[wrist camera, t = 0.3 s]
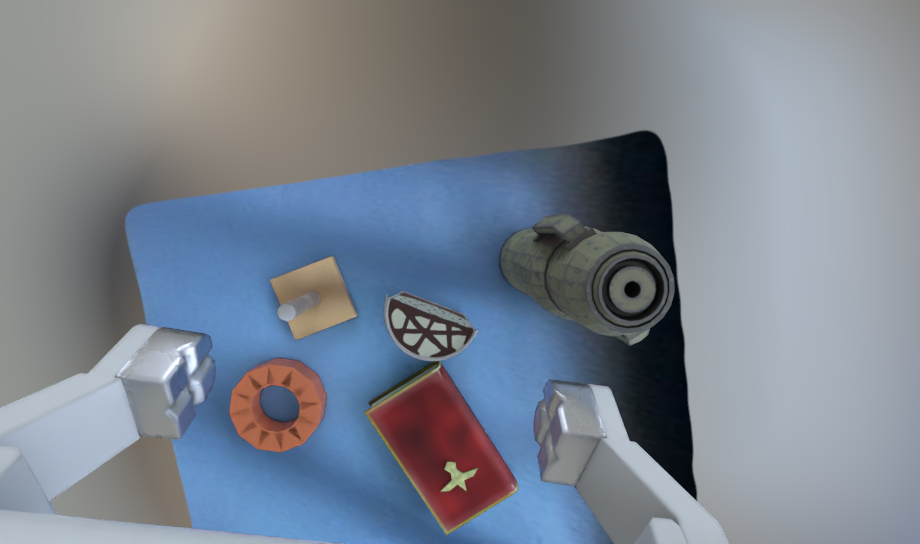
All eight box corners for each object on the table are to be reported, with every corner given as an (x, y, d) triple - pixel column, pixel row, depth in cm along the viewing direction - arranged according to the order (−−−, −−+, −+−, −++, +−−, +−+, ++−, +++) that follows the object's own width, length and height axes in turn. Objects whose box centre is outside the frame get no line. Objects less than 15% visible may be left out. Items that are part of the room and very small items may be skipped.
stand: (358, 314, 64) (338, 334, 52) (298, 338, 64) (264, 363, 52) (333, 255, 63) (307, 261, 51) (273, 278, 63) (232, 290, 51)
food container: (377, 327, 65) (366, 344, 55) (392, 286, 64) (384, 296, 54) (458, 357, 65) (461, 379, 55) (474, 317, 65) (480, 333, 55)
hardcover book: (439, 358, 65) (439, 366, 61) (514, 475, 67) (519, 491, 63) (368, 401, 65) (364, 413, 61) (446, 517, 67) (446, 536, 63)
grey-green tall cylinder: (532, 310, 65) (638, 399, 30) (479, 249, 64) (525, 267, 29) (579, 270, 65) (739, 312, 30) (526, 207, 64) (629, 177, 29)
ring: (338, 422, 65) (333, 432, 62) (260, 452, 65) (251, 464, 62) (306, 346, 64) (299, 352, 61) (226, 377, 64) (215, 384, 61)
